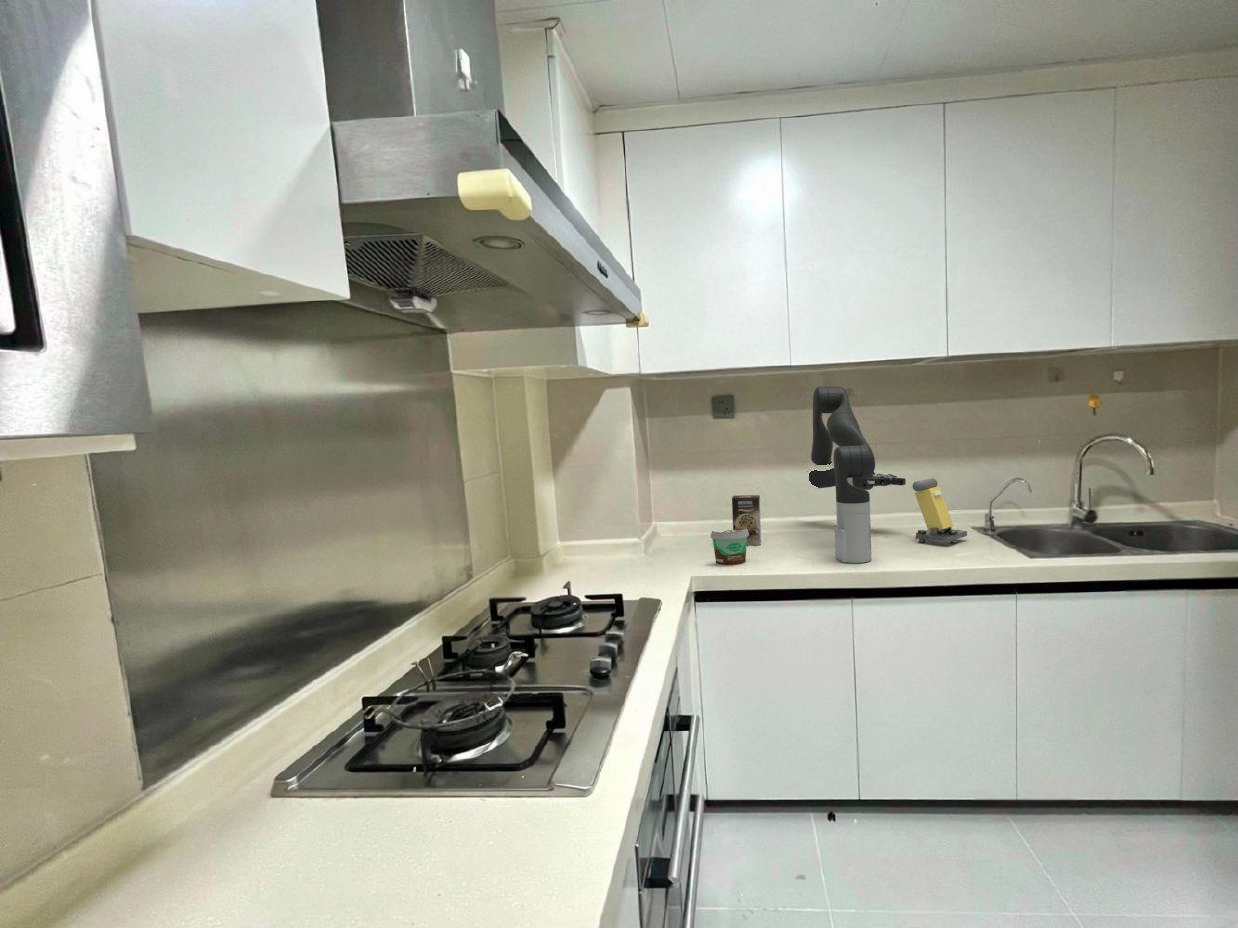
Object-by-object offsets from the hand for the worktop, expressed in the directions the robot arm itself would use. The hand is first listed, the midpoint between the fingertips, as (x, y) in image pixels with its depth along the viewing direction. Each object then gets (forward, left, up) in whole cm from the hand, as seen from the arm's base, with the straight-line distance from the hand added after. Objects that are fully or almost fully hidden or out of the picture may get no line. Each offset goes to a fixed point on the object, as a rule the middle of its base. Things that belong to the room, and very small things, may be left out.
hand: (904, 481), depth 216 cm
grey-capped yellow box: (+7, -10, -14) cm, 19 cm away
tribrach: (+7, -10, -18) cm, 22 cm away
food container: (-60, -20, -18) cm, 66 cm away
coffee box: (-51, +5, -18) cm, 55 cm away
